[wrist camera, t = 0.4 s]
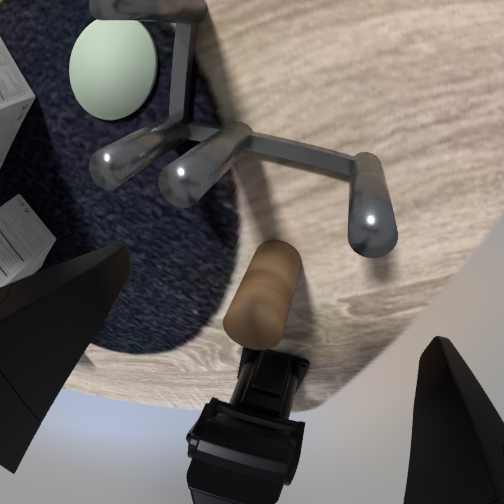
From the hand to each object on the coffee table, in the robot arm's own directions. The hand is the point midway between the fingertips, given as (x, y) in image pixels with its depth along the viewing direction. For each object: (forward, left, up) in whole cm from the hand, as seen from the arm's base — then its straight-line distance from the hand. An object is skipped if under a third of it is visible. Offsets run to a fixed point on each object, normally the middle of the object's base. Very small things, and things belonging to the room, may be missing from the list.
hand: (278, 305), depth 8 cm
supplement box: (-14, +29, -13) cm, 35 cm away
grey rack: (+4, +3, -13) cm, 14 cm away
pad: (+4, +15, -13) cm, 20 cm away
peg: (-9, +1, -13) cm, 16 cm away
